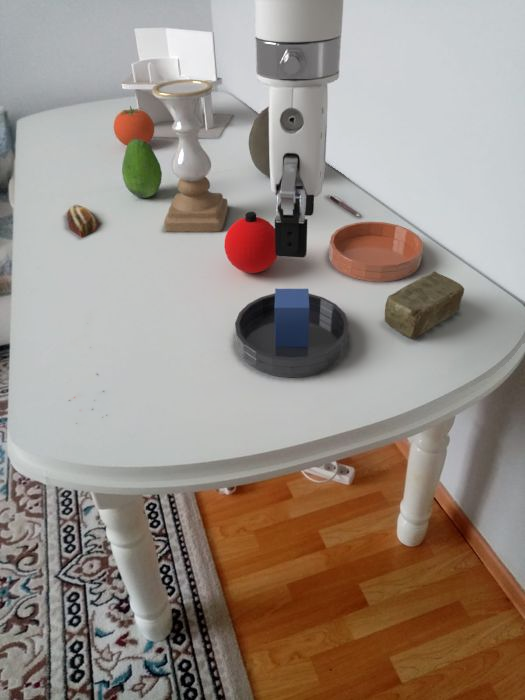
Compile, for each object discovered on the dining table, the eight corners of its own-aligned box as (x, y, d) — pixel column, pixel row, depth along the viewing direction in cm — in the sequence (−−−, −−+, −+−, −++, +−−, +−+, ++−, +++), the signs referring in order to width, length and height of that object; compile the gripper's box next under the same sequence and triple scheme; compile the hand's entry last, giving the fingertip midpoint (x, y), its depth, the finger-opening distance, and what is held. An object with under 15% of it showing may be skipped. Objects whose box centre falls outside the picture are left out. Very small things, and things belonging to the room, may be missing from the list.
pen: (327, 198, 108) (327, 193, 108) (330, 197, 109) (330, 192, 108) (358, 218, 100) (358, 213, 100) (361, 217, 101) (362, 213, 100)
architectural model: (118, 136, 143) (99, 39, 128) (142, 114, 159) (127, 25, 144) (218, 138, 140) (209, 38, 125) (232, 115, 156) (226, 24, 141)
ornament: (290, 265, 87) (291, 209, 81) (257, 289, 82) (255, 231, 76) (249, 250, 92) (246, 196, 85) (215, 272, 86) (209, 216, 80)
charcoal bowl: (369, 340, 71) (372, 323, 69) (291, 395, 64) (291, 377, 62) (291, 296, 80) (291, 280, 78) (214, 340, 72) (212, 323, 70)
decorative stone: (56, 212, 107) (54, 203, 105) (83, 205, 109) (80, 197, 108) (76, 239, 97) (74, 230, 96) (105, 231, 99) (103, 222, 98)
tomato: (111, 146, 137) (102, 105, 131) (146, 137, 142) (139, 98, 135) (128, 156, 131) (119, 114, 124) (164, 147, 135) (157, 106, 129)
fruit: (156, 204, 108) (146, 146, 100) (121, 202, 109) (108, 144, 102) (170, 189, 114) (161, 133, 106) (136, 187, 115) (125, 131, 107)
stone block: (379, 324, 74) (383, 295, 71) (429, 295, 79) (435, 266, 76) (412, 344, 70) (418, 314, 67) (462, 311, 76) (469, 282, 73)
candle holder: (228, 207, 106) (218, 77, 91) (221, 231, 97) (209, 94, 82) (175, 207, 107) (157, 79, 91) (164, 231, 98) (142, 95, 83)
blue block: (307, 327, 73) (308, 288, 69) (308, 347, 70) (309, 307, 66) (275, 327, 73) (275, 288, 69) (275, 347, 70) (274, 307, 66)
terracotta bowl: (438, 257, 88) (441, 241, 86) (382, 292, 80) (385, 276, 78) (367, 228, 97) (368, 213, 95) (311, 258, 89) (311, 242, 87)
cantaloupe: (266, 192, 111) (264, 118, 101) (241, 170, 121) (237, 101, 111) (324, 180, 115) (327, 108, 106) (295, 160, 125) (296, 93, 116)
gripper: (336, 83, 39) (325, 276, 50) (342, 41, 53) (333, 202, 63) (239, 82, 40) (249, 272, 51) (269, 41, 53) (272, 200, 64)
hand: (295, 233), depth 57 cm, fingers open, 9 cm apart
